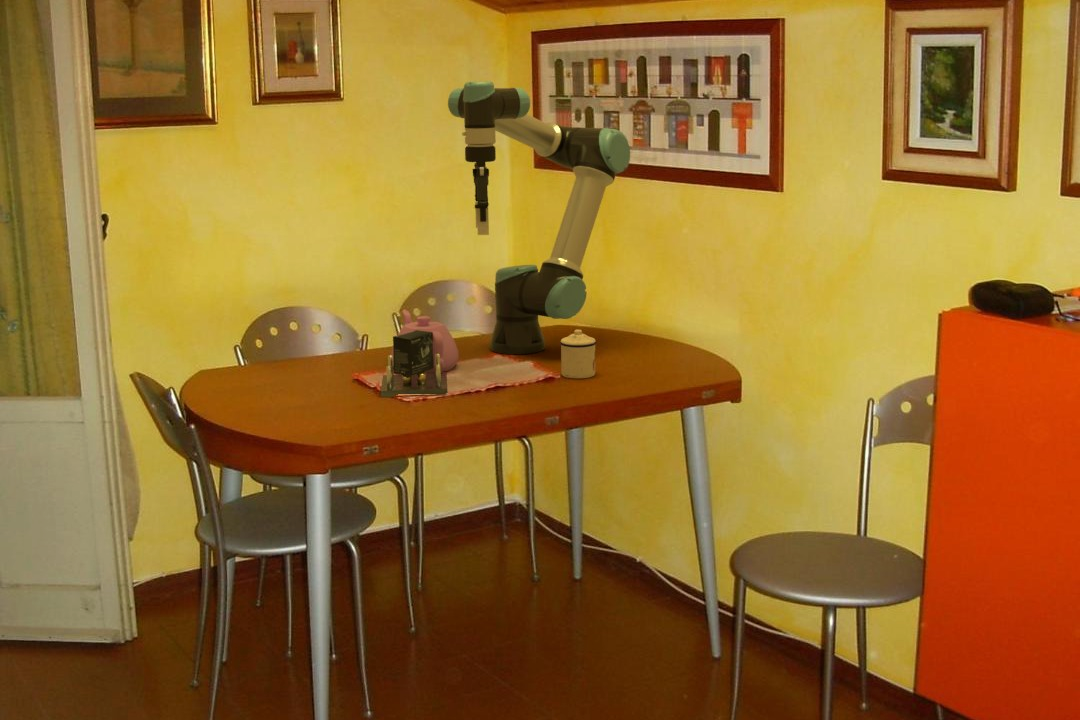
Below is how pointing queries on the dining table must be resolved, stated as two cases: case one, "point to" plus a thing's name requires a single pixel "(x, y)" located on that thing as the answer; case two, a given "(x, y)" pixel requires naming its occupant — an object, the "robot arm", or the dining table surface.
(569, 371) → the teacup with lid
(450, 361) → the teapot
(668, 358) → the dining table surface
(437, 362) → the chassis
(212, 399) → the dining table surface
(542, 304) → the robot arm
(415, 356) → the box
